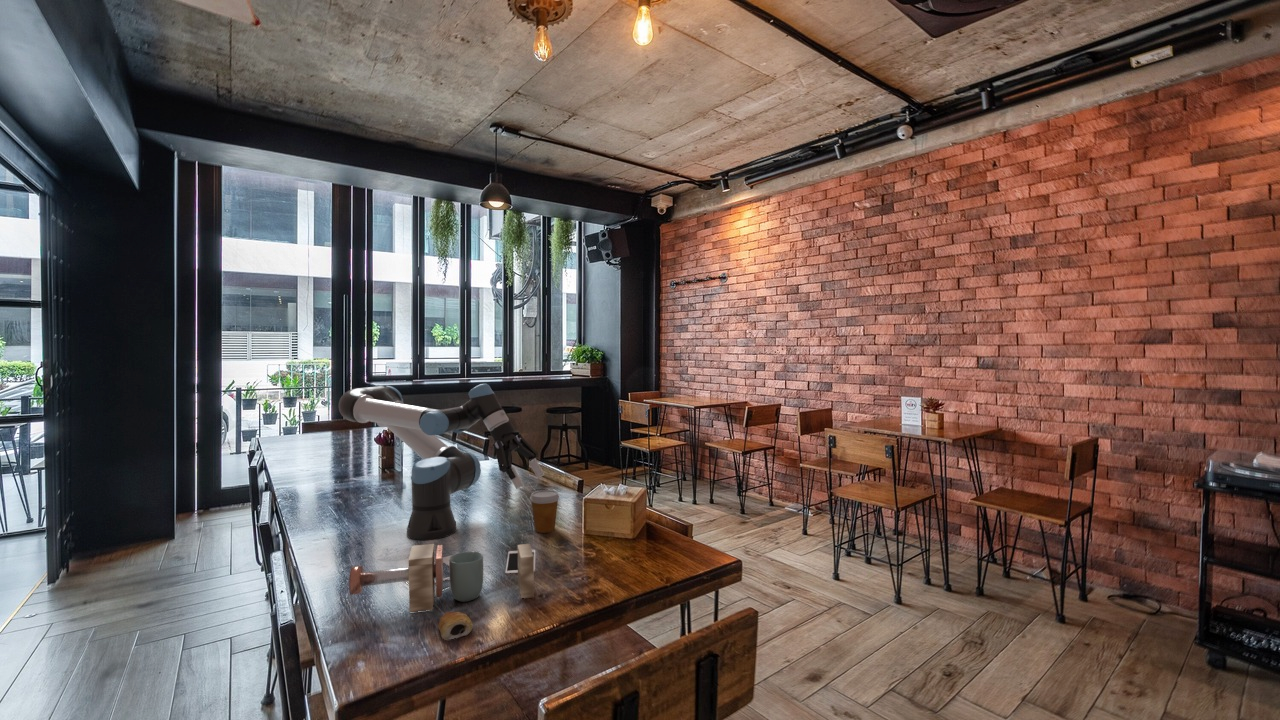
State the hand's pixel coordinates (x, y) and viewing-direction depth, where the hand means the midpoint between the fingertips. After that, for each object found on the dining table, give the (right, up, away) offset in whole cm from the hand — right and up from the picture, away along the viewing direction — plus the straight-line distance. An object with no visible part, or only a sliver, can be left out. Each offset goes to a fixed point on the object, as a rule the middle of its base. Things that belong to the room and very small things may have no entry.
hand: (531, 481), depth 187 cm
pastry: (-4, -18, -65) cm, 68 cm away
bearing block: (-16, -17, -53) cm, 58 cm away
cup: (-6, -18, -50) cm, 53 cm away
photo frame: (-19, -18, -34) cm, 43 cm away
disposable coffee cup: (+5, -16, -1) cm, 16 cm away
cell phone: (+2, -17, -27) cm, 32 cm away
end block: (+7, -17, -46) cm, 50 cm away
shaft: (-21, -15, -55) cm, 60 cm away
